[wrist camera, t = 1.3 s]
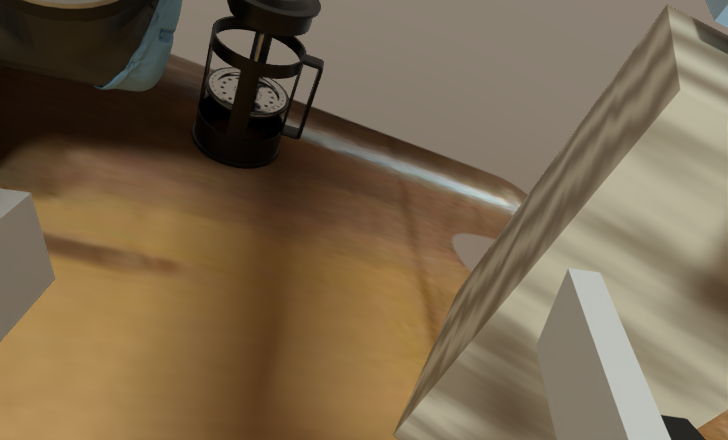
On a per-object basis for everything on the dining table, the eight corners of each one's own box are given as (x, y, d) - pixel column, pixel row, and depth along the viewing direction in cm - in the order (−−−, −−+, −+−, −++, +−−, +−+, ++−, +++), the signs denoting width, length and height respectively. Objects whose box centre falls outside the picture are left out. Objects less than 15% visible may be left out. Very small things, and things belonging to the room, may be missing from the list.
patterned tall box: (536, 529, 39) (1010, 231, 19) (392, 435, 40) (698, 67, 21) (565, 356, 52) (857, 81, 33) (458, 290, 54) (677, -11, 34)
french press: (174, 150, 54) (212, -95, 40) (196, 103, 61) (236, -120, 47) (288, 183, 57) (363, -36, 42) (297, 134, 64) (364, -68, 49)
